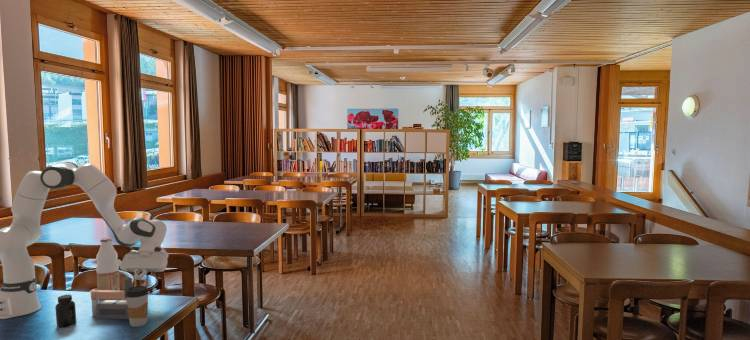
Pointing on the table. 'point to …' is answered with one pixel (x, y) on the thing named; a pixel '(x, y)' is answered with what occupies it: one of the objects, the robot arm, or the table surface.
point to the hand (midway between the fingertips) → (137, 279)
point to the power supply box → (110, 309)
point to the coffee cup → (137, 305)
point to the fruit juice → (107, 266)
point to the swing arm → (112, 292)
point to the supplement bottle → (65, 311)
